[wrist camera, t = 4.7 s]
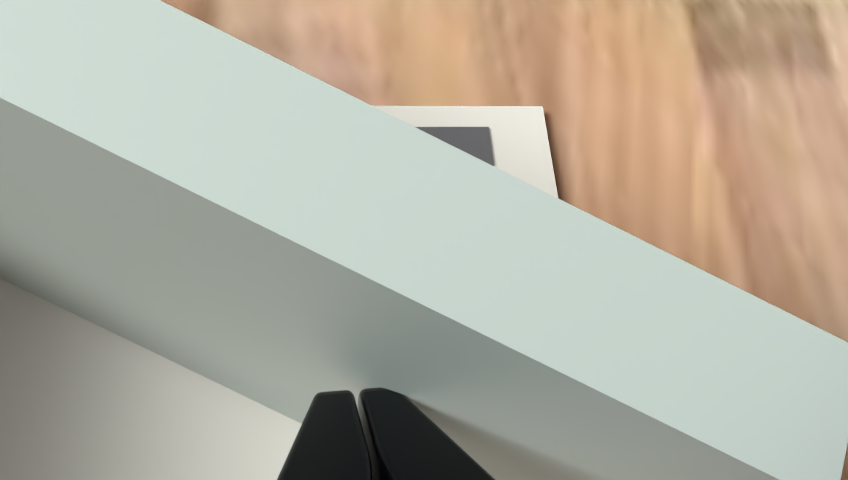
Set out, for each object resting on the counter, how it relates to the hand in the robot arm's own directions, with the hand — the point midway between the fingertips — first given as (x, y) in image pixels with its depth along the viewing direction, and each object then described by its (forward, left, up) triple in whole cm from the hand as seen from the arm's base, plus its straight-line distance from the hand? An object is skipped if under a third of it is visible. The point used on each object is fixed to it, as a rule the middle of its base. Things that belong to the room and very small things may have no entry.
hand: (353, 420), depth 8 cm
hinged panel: (+5, 0, -6) cm, 8 cm away
